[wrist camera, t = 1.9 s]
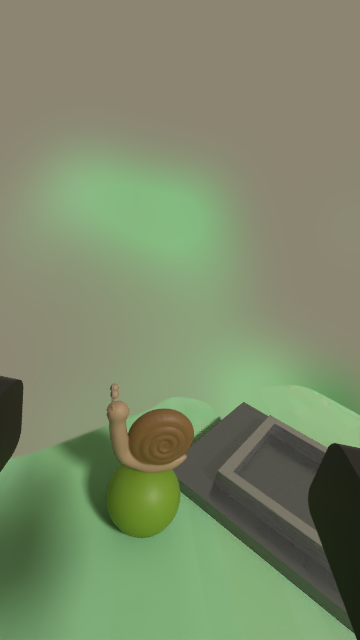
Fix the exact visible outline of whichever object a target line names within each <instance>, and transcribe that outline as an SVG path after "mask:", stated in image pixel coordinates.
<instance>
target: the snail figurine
mask: <svg viewBox="0 0 360 640" xmlns="http://www.w3.org/2000/svg"><path fill="white" fill-rule="evenodd" d="M118 389H119V388H118V385H117V384H112V385H111V388H110V390H111V398H112V403H111V404H109V406H108V407H107V411H108V412H107V417H108V419H109V431H110V438H111V444H112V448H113V451H114V453H115V455H116V457H117V459H118V460H119V461H120V462H121V463H122V464H121V465H120V466H119V467H118V468H117V469H116V471H115V472H114V474H113V475H112V477H111V479H110V482H109V485H108V488H107V496H106V501H107V508H108V512H109V515H110V517H111V519H112V521H113V522H114V524H115V525H116V526H117V527H118V528H119V529H120V530H121V531H122V532H124V533H125V534H127V535H129V536H132V537H137V538H146V537H151V536H154V535H156V534H158V533H160V532H161V531H163V530H164V529H165V528H166V527H167V526H168V525H169V524H170V523H171V521H172V520H173V518H174V517H175V515H176V512H177V510H178V507H179V502H180V486H179V482H178V479H177V476H176V474H175V472H174V471H173V468H175V467H177V466H178V465H180V464H181V463H182V462H183V461H184V460H185V459H186V458H187V456H186V455H185V453H186V452H187V451H188V450H189V448H190V446H191V444H192V442H193V438H194V430H193V426H192V424H191V422H190V420H189V419H188V418H187V417H186V416H185V415H184V414H182V413H181V412H178V411H176V410H172V409H157V410H153V411H150V412H147V413H145V414H143V415H142V416H141V417H139V418H138V419H137V420H136V421H135V422H134V423H133V424H132V426H131V428H130V430H129V433H128V434H127V428H126V419H127V417H128V415H129V408H128V406H127V405H126V404H125V403H124V402H122V401H114V399H116V398H118V396H119V392H118Z"/></svg>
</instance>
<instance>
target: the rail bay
mask: <svg viewBox="0 0 360 640" xmlns="http://www.w3.org/2000/svg"><path fill="white" fill-rule="evenodd" d="M327 449H328V448H326V447H325V446H323V445H321V444H320V443H318V442H316V441H314V440H313V439H311V438H309V437H307V436H306V435H304V434H302V433H300V432H299V431H297V430H295V429H293V428H292V427H290V426H288V425H286V424H285V423H283V422H281V421H279V420H278V419H276V418H274V417H272V416H271V415H270V416H267V415H265V414H263V413H262V412H260V411H258V410H256V409H255V408H253V407H251V406H250V405H248V404H246V403H244V402H243V403H242V404H241V405H239V406H238V407H237V408H236V409H235V410H233V411H232V412H231V413H230V414H229V415H227V416H226V417H225V418H224V419H223V420H221V421H220V422H219V423H218V424H217V425H215V426H214V427H213V428H212V429H211V430H210V431H208V432H207V433H206V434H205V435H204V436H202V437H201V438H200V439H199V440H198V441H196V442H195V443H194V444H193V445H192V446H190V448H189V450H188V451H187V452H186V453H185V455H186V456H187V458H186V459H185V460H184V461H183V462H182V463H181V464H180V465H178V466H177V467H175V468H173V471H174V472H175V474H176V476H177V479H178V482H179V486H180V491H181V492H182V493H184V494H185V495H186V496H187V497H189V498H190V499H191V500H192V501H193V502H195V503H196V504H197V505H198V506H200V507H201V508H202V509H203V510H204V511H206V512H207V513H208V514H209V515H211V516H212V517H213V518H214V519H215V520H217V521H218V522H219V523H220V524H222V525H223V526H224V527H225V528H227V529H228V530H229V531H230V532H231V533H233V534H234V535H235V536H236V537H238V538H239V539H240V540H241V541H242V542H244V543H245V544H246V545H247V546H249V547H250V548H251V549H252V550H253V551H255V552H256V553H257V554H258V555H260V556H261V557H262V558H263V559H264V560H266V561H267V562H268V563H269V564H271V565H272V566H273V567H274V568H275V569H277V570H278V571H279V572H280V573H282V574H283V575H284V576H285V577H286V578H288V579H289V580H290V581H291V582H293V583H294V584H295V585H296V586H297V587H299V588H300V589H301V590H302V591H304V592H305V593H306V594H307V595H308V596H310V597H311V598H312V599H313V600H315V601H316V602H317V603H318V604H319V605H321V606H322V607H323V608H324V609H326V610H327V611H328V612H329V613H331V614H332V615H333V616H334V617H335V618H337V619H338V620H339V621H340V622H342V623H343V624H344V625H345V626H346V627H348V628H349V629H350V630H351V631H353V632H354V630H353V628H352V625H351V622H350V619H349V617H348V614H347V611H346V609H345V606H344V603H343V601H342V598H341V595H340V592H339V590H338V587H337V584H336V582H335V579H334V576H333V574H332V571H331V568H330V565H329V563H328V560H327V557H326V555H325V552H324V549H323V547H322V544H321V541H320V539H319V536H318V533H317V530H316V528H315V525H314V522H313V520H312V517H311V514H310V511H309V506H308V493H309V488H310V485H311V483H312V481H313V479H314V477H315V474H316V472H317V470H318V468H319V466H320V464H321V461H322V459H323V457H324V455H325V453H326V451H327Z"/></svg>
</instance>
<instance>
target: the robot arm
mask: <svg viewBox="0 0 360 640" xmlns="http://www.w3.org/2000/svg"><path fill="white" fill-rule="evenodd" d="M22 404H23V383H22V381H21V380H18V379H13V378H8V377H3V376H0V472H1V470H2V469H3V467H4V466H5V465H6V463H7V462H8V460H9V459H10V457H11V456H12V454H13V453H14V451H15V449H16V446H17V444H18V441H19V438H20V434H21V424H22ZM308 506H309V511H310V514H311V517H312V520H313V522H314V525H315V528H316V530H317V533H318V536H319V539H320V541H321V544H322V547H323V549H324V552H325V555H326V557H327V560H328V563H329V565H330V568H331V571H332V574H333V576H334V579H335V582H336V584H337V587H338V590H339V592H340V595H341V598H342V601H343V603H344V606H345V609H346V611H347V614H348V617H349V619H350V622H351V625H352V628H353V630H354V633H355V636H356V638H357V640H360V448H356V447H351V446H346V445H341V444H336V443H333V444H331V445H330V446H329V447H328V449H327V451H326V453H325V455H324V457H323V459H322V461H321V464H320V466H319V468H318V470H317V472H316V474H315V477H314V479H313V481H312V483H311V485H310V488H309V493H308Z"/></svg>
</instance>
